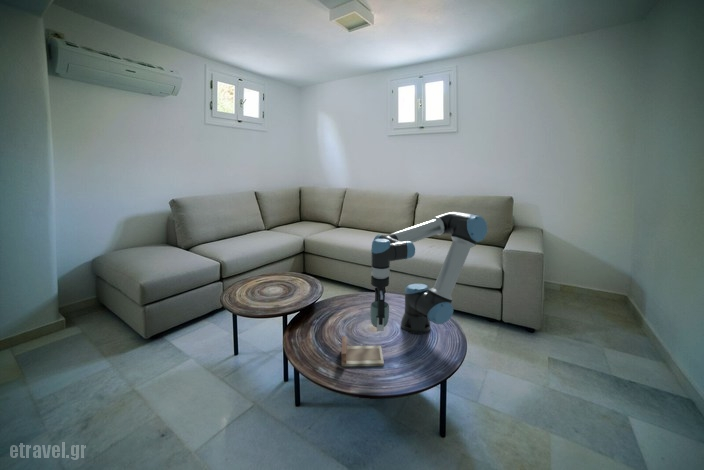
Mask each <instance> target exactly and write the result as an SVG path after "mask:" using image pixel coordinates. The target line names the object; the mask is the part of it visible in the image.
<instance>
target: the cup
mask: <svg viewBox="0 0 704 470" xmlns="http://www.w3.org/2000/svg"><path fill="white" fill-rule="evenodd" d="M369 308H370V312H369V314H370V315H369V316H370V322H371V325H372V326H373V327H375V328H376V329H377V318H376V316H378V302H377V301H375V300H374V301H372V302H371V303H370V307H369ZM389 316H390V305H389V303H388V302H387V301H385V318H384V328H385V327H386V326H387V324H388V322H389V319H390V317H389Z"/></svg>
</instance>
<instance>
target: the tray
mask: <svg viewBox="0 0 704 470" xmlns="http://www.w3.org/2000/svg"><path fill="white" fill-rule="evenodd" d="M347 337H348V336H342V337H341V367H384V365H385V363H384V356H383V355H384V354H383V351H382V350H383V349H382V346H381V345H348V338H347Z"/></svg>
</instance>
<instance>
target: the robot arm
mask: <svg viewBox="0 0 704 470" xmlns="http://www.w3.org/2000/svg"><path fill="white" fill-rule="evenodd" d="M487 233H488V224H487V222H486V220H485V218H484V217H482V216H480V215H476V214H473V213H466V212H462V211H461V212H460V211H452V212H451V211H450V212H446V213H443V214H438V215H436V216H433V217H432V218H431V219H430V220H428V221H424V222H422V223H419V224H416V225H413V226H410V227H407V228H404V229H401V230H398V231H395V232H392V233H389V234H386V235H385V234H383V233H382V234H381V233H380V234H377V235H376V236H375V237H374V238H373V240H372V242H371V249H370V250H371V251H370V252H371V268H369V271H371V276H370V281H371V282H370V284H371V286H373V287H374V301H377V302H378V316H376V318H377V328H376V331H377V332H384V330H385V327H384V318H385V302H386V300H385V299H386V290H385V288H387V287H388V286H389V285H390V268H391V267H390V263H391V262H395V261H402V260H408V259H412V258H413V257H414V256H415V254H416V247H415V244H414V243H415V242H418V241H421V240H424V239H427V238H429V237H432V236H435V235H437V236H442V235H445V234H446V235H450V238H451V240H452V242H451V244H450V247H449V249H448V252H447V255H446V257H445V259H444V262H443V264H442V266H441V269H440V271H439V273H438V275H437V278H436V280H435V283H434V286H433V287H431V288H429V285H427V284H424V283H411V284H408V285H407V286H406V287H405V292H404V312H403V316H402V318H401V322H400V327H401V329H402V330H404V331H405V332H407V333H410V334H414V335H421V334H422V335H423V334H426V333H428V332H429V331H430V330H431V323H434V324H435V325H443V324H445V323H447V322H448V321H450V320H451V318H452V316H453V314H454V306H453V305H452V302H453V297H452V293H453V290H454V289H455V286H456V283H457V281H458V280H459V277H460V274H461V272H462V271H463V267H464V264H465V262H466V260H467V257H468V255H469V252H470V251H471V249H472V248H473V247H475V246H476V245H477V242H482V241H483V240H484V239H486V236H487Z"/></svg>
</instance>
